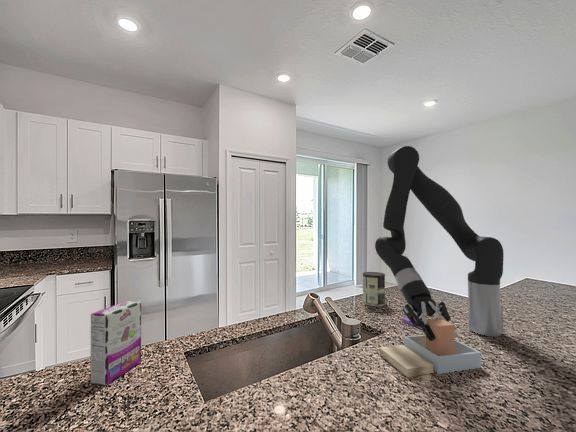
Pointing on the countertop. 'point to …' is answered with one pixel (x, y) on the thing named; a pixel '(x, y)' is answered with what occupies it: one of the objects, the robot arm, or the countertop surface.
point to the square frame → (445, 364)
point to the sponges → (408, 321)
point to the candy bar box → (115, 341)
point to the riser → (406, 360)
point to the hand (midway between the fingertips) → (441, 338)
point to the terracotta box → (441, 337)
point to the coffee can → (374, 288)
